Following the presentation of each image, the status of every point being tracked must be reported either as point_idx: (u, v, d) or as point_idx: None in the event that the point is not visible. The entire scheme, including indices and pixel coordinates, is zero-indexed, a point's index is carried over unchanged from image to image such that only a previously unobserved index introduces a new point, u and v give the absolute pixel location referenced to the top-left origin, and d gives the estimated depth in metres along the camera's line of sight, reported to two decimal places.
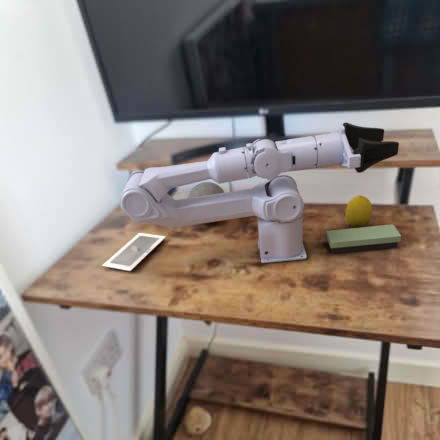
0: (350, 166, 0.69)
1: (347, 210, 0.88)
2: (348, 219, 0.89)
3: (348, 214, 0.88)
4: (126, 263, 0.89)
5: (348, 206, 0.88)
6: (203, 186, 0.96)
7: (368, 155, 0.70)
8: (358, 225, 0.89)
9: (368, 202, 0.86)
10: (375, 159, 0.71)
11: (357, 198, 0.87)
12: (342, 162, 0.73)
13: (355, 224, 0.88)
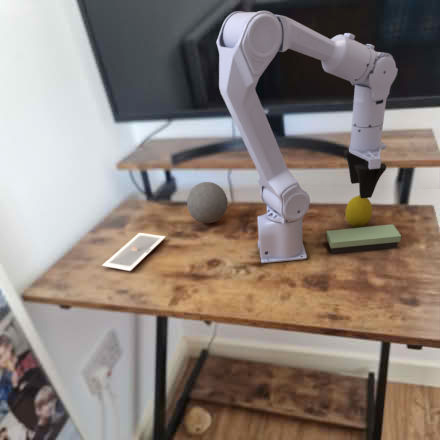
0: (372, 160, 0.75)
1: (347, 210, 0.88)
2: (348, 219, 0.89)
3: (348, 214, 0.88)
4: (126, 263, 0.89)
5: (348, 206, 0.88)
6: (203, 186, 0.96)
7: (367, 174, 0.79)
8: (358, 225, 0.89)
9: (368, 202, 0.86)
10: (363, 181, 0.80)
11: (357, 198, 0.87)
12: (359, 152, 0.79)
13: (355, 224, 0.88)
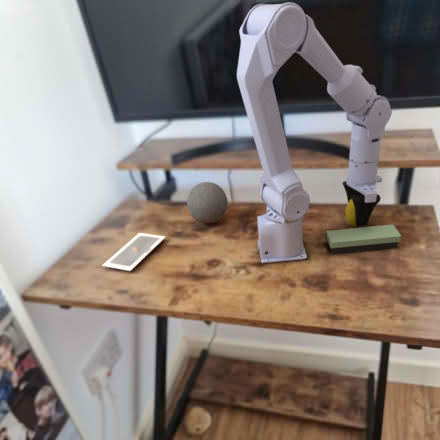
0: (368, 194, 0.79)
1: (347, 210, 0.88)
2: (348, 219, 0.89)
3: (347, 214, 0.88)
4: (126, 263, 0.89)
5: (348, 206, 0.88)
6: (203, 186, 0.96)
7: (362, 204, 0.84)
8: None
9: None
10: (358, 210, 0.85)
11: None
12: (356, 185, 0.83)
13: (355, 224, 0.88)
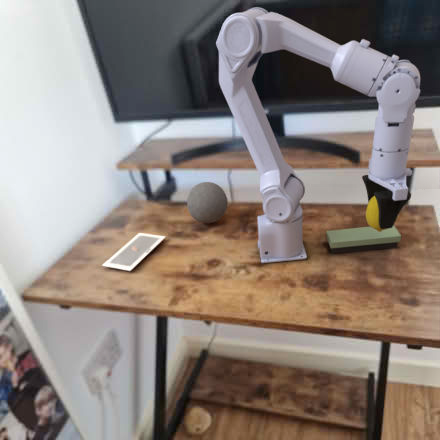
0: (397, 191, 0.64)
1: (368, 210, 0.73)
2: (370, 220, 0.74)
3: (369, 214, 0.73)
4: (126, 263, 0.89)
5: (370, 205, 0.73)
6: (203, 186, 0.96)
7: (388, 202, 0.69)
8: None
9: None
10: (383, 210, 0.70)
11: None
12: (381, 179, 0.68)
13: (378, 226, 0.73)
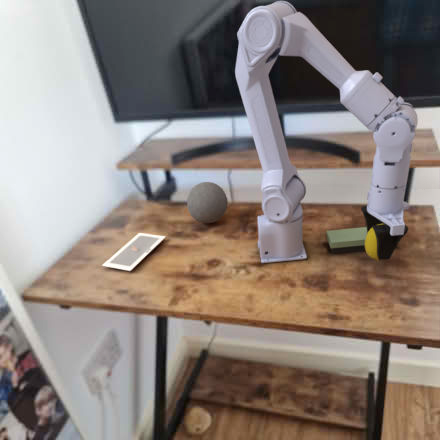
0: (394, 226, 0.66)
1: (367, 240, 0.76)
2: (368, 251, 0.76)
3: (368, 245, 0.76)
4: (126, 263, 0.89)
5: (368, 236, 0.75)
6: (203, 186, 0.96)
7: (386, 235, 0.72)
8: None
9: None
10: (381, 242, 0.72)
11: None
12: (379, 213, 0.70)
13: (376, 256, 0.76)
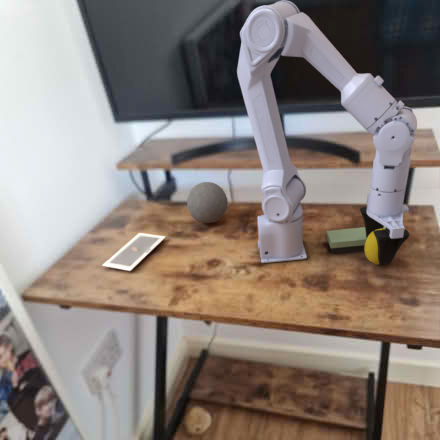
0: (394, 229, 0.67)
1: (367, 245, 0.76)
2: (368, 255, 0.77)
3: (367, 249, 0.76)
4: (126, 263, 0.89)
5: (368, 241, 0.76)
6: (203, 186, 0.96)
7: (387, 240, 0.71)
8: None
9: None
10: (382, 247, 0.72)
11: None
12: (379, 216, 0.70)
13: (376, 261, 0.77)
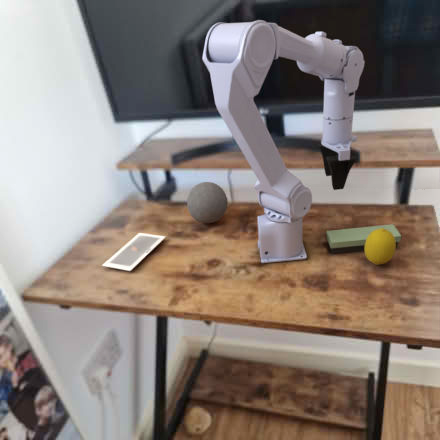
0: (341, 152, 0.77)
1: (367, 245, 0.76)
2: (368, 255, 0.77)
3: (367, 249, 0.76)
4: (126, 263, 0.89)
5: (368, 241, 0.76)
6: (203, 186, 0.96)
7: (338, 166, 0.81)
8: (379, 262, 0.77)
9: (392, 237, 0.75)
10: (334, 172, 0.82)
11: (379, 232, 0.75)
12: (330, 144, 0.81)
13: (376, 261, 0.77)
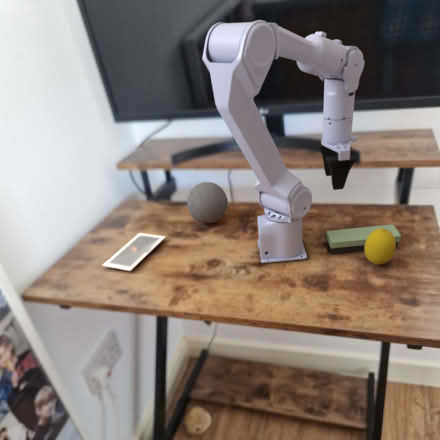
0: (341, 152, 0.77)
1: (367, 245, 0.76)
2: (368, 255, 0.77)
3: (367, 249, 0.76)
4: (126, 263, 0.89)
5: (368, 241, 0.76)
6: (203, 186, 0.96)
7: (338, 166, 0.81)
8: (379, 262, 0.77)
9: (392, 237, 0.75)
10: (334, 172, 0.82)
11: (379, 232, 0.75)
12: (330, 144, 0.81)
13: (376, 261, 0.77)
